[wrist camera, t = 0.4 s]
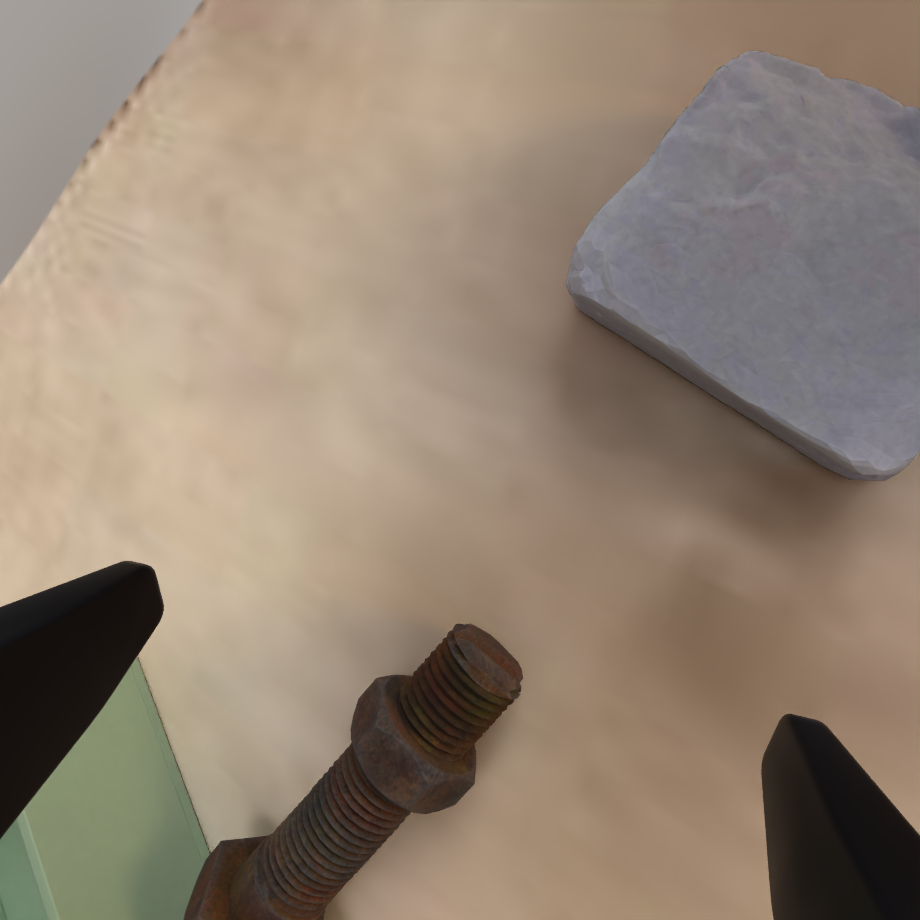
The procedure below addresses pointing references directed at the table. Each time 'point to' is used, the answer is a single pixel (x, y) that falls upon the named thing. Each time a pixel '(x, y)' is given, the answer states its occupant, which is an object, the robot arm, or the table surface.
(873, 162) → the stone block
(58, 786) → the carton
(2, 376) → the table surface
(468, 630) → the bolt
